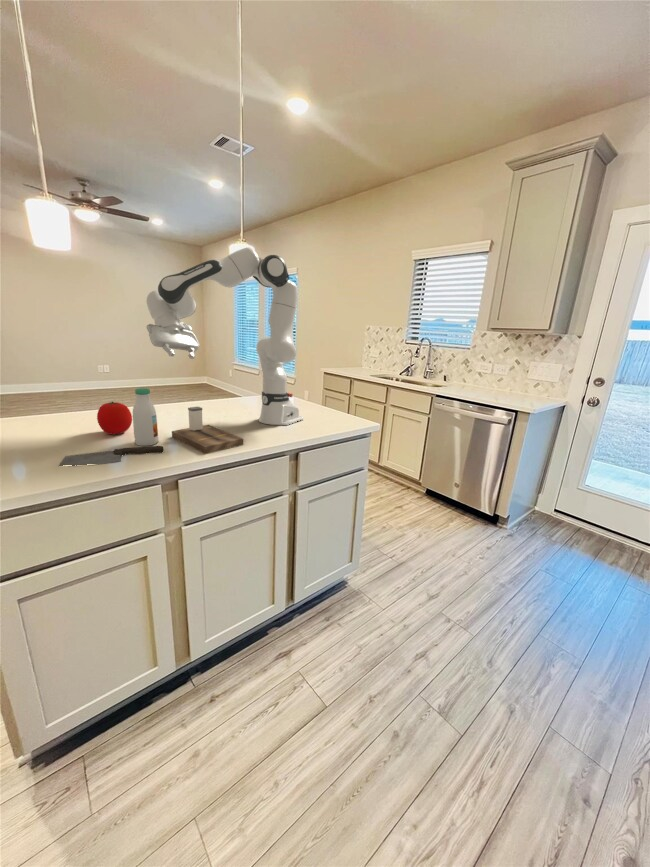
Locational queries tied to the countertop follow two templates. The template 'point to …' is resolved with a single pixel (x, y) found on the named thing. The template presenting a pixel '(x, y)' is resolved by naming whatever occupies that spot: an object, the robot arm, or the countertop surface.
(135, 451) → the cleaver
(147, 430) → the milk bottle
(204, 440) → the wooden cutting board
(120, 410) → the tomato
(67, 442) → the countertop surface
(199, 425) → the white lidded container
